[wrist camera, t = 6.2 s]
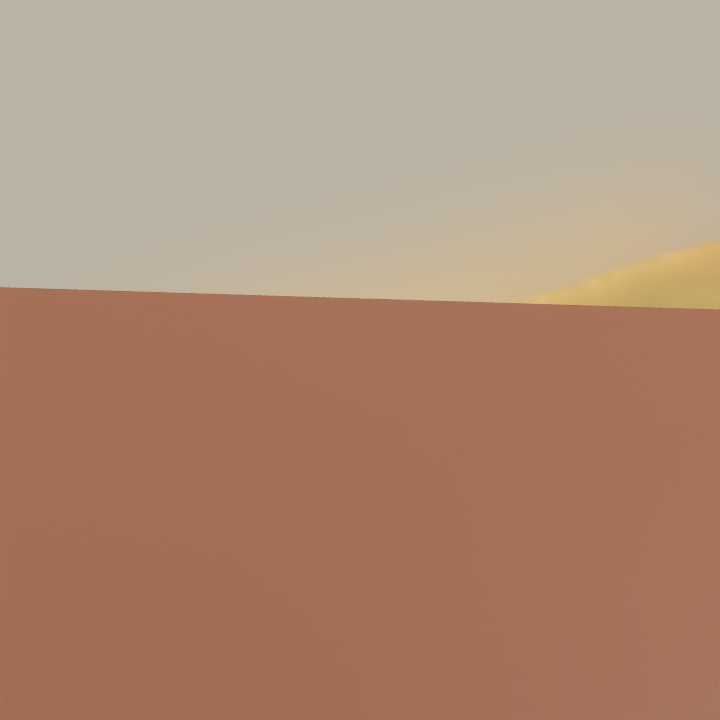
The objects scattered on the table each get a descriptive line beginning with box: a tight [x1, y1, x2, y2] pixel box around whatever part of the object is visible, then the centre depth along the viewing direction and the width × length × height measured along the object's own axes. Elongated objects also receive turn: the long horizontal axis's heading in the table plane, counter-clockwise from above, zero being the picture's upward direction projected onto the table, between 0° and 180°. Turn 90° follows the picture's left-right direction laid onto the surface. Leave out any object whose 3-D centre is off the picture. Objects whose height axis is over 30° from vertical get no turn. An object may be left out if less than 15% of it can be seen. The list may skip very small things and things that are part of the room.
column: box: [0, 287, 720, 720], centre depth 8 cm, size 5×5×12 cm
